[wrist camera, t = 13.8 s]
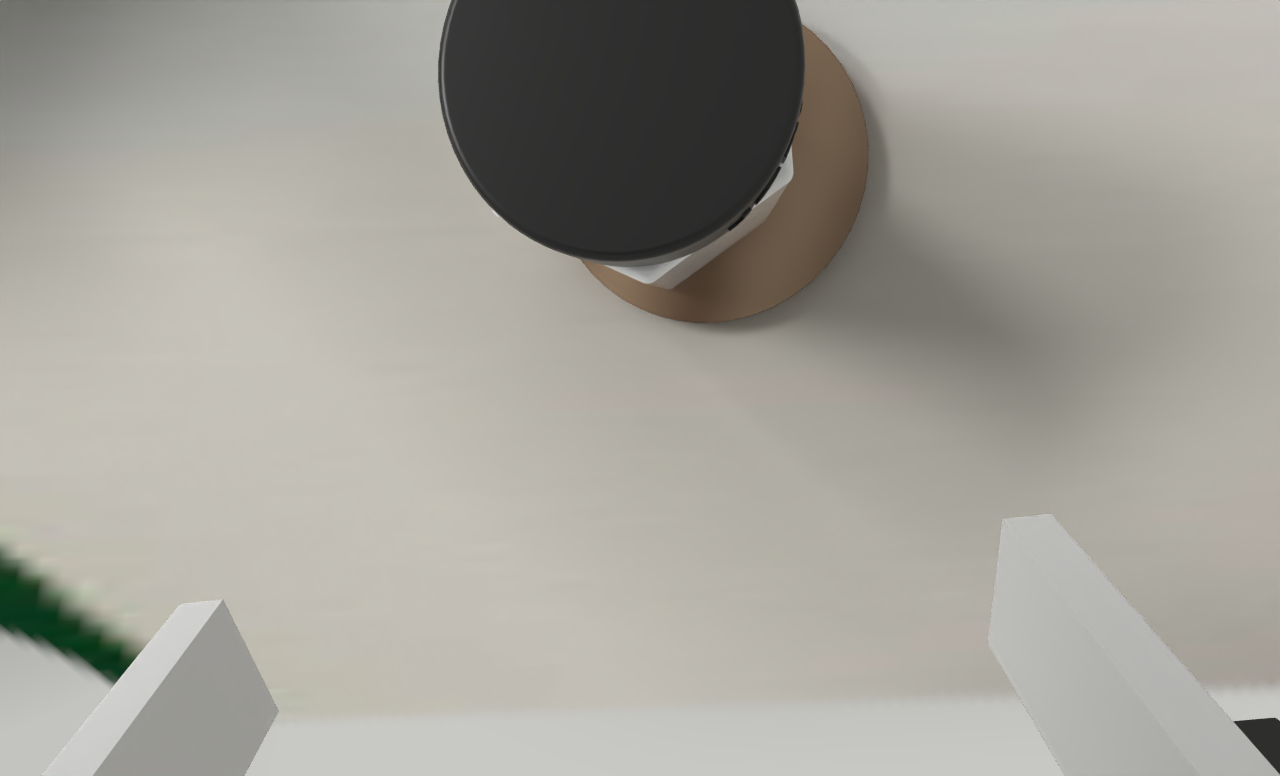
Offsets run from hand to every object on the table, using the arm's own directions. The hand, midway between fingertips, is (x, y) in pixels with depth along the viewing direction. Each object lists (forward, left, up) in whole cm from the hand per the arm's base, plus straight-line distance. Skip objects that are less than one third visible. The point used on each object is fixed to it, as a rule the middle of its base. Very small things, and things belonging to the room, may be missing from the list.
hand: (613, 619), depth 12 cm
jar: (0, +10, -17) cm, 20 cm away
